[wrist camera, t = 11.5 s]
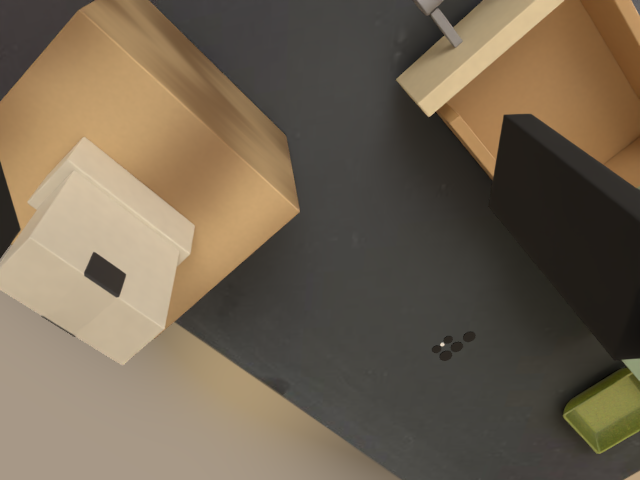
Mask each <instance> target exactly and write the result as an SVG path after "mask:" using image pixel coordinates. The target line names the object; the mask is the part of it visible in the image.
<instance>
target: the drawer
mask: <svg viewBox="0 0 640 480" xmlns="http://www.w3.org/2000/svg"><path fill="white" fill-rule="evenodd" d="M413 1H414V3H415V4H416V5H417V7H418V8H419V9H420V10H421V11H422V12H423V13H424V14H425V15H426V16H427V15H430V17H431V18H432V19H433V21H434V22H435V23H436V25H437V26H438V27H439V29H440V30H441V31H442V33H443V34H444V36H443V37H442V38H441V39H440V40H439V41H438V42H437V43H435V44H434V45H433V46H432V47H431V48H430V49H429V50H428V51H427V52H425V53H424V54H423V55H422V56H421V57H420V58H419V59H418V60H417V61H416V62H414V63H413V64H412V65H411V66H410V67H409V68H408V69H407V70H406V71H404V72H403V73H402V74H401V75H400V76H399V77H398V78H397V79H396V81H397V82H398V83H399V84H400V86H401V87H402V88H403V89H404V90H405V92H406V93H407V94H408V95H409V96H410V97H411V98H412V99H413V101H414V102H415V103H416V104H417V105H418V106H419V107H420V108H421V109H422V111H423V112H424V113H425V114H426V115H427V116H428V117H430V116H431V115H432V114H434V113H435V112H437V114H438V115H439V116H440V117H441V119H442V120H443V121H444V122H445V123H446V125H447V126H448V127H449V128H450V129H451V131H452V132H453V133H454V134H455V136H456V137H457V138H458V139H459V140H460V142H461V143H462V144H463V145H464V147H465V148H466V149H467V150H468V151H469V153H470V154H471V155H472V156H473V157H474V159H475V160H476V161H477V162H478V164H479V165H480V166H481V167H482V168H483V170H484V171H485V172H486V173H487V175H488V176H489V177H490V178H491V179H492V181H493V176H494V170H495V164H496V158H497V152H498V146H499V140H500V134H501V128H502V122H503V116H504V115H506V114H532V115H534V116H535V117H536V118H538V119H539V120H541V121H542V122H544V123H545V124H546V125H548V126H549V127H551V128H552V129H553V130H555V131H556V132H558V133H559V134H561V135H562V136H563V137H565V138H566V139H568V140H569V141H570V142H572V143H573V144H575V145H576V146H578V147H579V148H580V149H582V150H583V151H585V152H586V153H587V154H589V155H590V156H592V157H593V158H595V159H596V160H597V161H599V162H600V163H602V164H603V165H604V166H606V167H607V168H609V169H610V170H612V171H613V172H614V173H616V174H617V175H619V176H620V177H621V178H623V179H624V180H626V181H627V182H629V183H630V184H631V185H633V186H634V187H636V188H638V187H639V186H640V16H639V14H638V12H637V10H636V9H635V7H634V5H633V3H632V1H631V0H483V1H482V2H481V3H480V4H479V5H477V6H476V7H475V8H474V9H473V10H472V11H471V12H470V13H469V14H467V15H466V16H465V17H464V18H463V19H462V20H461V21H460V22H459V23H458V24H456V25H455V26H454V27H452V25H451V24H450V23H449V21H448V20H447V19H446V17H445V16H444V15H443V13H442V12H441V10H440V9H439V8H438V6H439V5H440V4H441V3H442V2H443V1H444V0H413Z"/></svg>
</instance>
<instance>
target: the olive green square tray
mask: <svg viewBox="0 0 640 480" xmlns="http://www.w3.org/2000/svg"><path fill="white" fill-rule="evenodd" d="M563 418H564V419H565V420H566V421H567V422H568V423H569V424H570V425H571V426H572V427H573V429H574V430H575V431H576V432H577V433H578V434H579V435H580V436H581V437H582V438H583V439H584V440H585V441H586V442H587V443H588V445H589V446H590V447H591V448H592V449H593V450H594V451H595V452H596V453H597V454H599V453H602V452H604V451H606V450H608V449H609V448H611V447H613V446H615V445H616V444H618V443H620V442H621V441H623V440H625V439H626V438H628V437H630V436H632V435H633V434H635V433H637V432H639V431H640V381H639V380H638V379H637V378H636V377H635V376H634V374H633V373H632V372H631V371H630V370H629V369H628V368H622V369H619V370H617V371H616V372H614V373H613V374H611V375H609V376H608V377H606V378H605V379H603V380H601V381H600V382H598V383H597V384H595V385H593V386H592V387H590V388H589V389H587V390H585V391H584V392H582V393H580V394H579V395H577V396H576V397H574V398H572V399H571V400H570V401H569V402H568V403H567V405H566V406H565V409H564V412H563Z"/></svg>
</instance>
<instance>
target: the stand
mask: <svg viewBox="0 0 640 480" xmlns="http://www.w3.org/2000/svg"><path fill="white" fill-rule="evenodd" d="M83 137H86V138H87V139H88V140H89V141H91V142H92V143H93V144H94V145H96V146H97V147H98V148H99V149H101V150H102V151H103V152H104V153H106V154H107V155H108V156H109V157H111V158H112V159H113V160H114V161H116V162H117V163H118V164H119V165H121V166H122V167H123V168H124V169H125V170H127V171H128V172H129V173H130V174H132V175H133V176H134V177H135V178H137V179H138V180H139V181H140V182H142V183H143V184H144V185H145V186H147V187H148V188H149V189H150V190H152V191H153V192H154V193H155V194H157V195H158V196H159V197H160V198H161V199H163V200H164V201H165V202H166V203H168V204H169V205H170V206H171V207H173V208H174V209H175V210H176V211H178V212H179V213H180V214H181V215H183V216H184V217H185V218H186V219H188V220H189V221H190V222H191V223H193V224H194V225H195V229H194V235H193V241H192V247H191V253H190V255H189V256H188V257H187V258H186V259H185V260H184V261H182V262H181V263H180V264H179V265H178V266H177V268H176V273H175V278H174V283H173V288H172V293H171V299H170V304H169V309H168V314H167V319H166V324H165V329H166V328H168V327H169V326H170V325H171V324H172V323H173V322H174V321H176V320H177V319H178V318H179V317H180V316H181V315H182V314H184V313H185V312H186V311H187V310H188V309H189V308H190V307H192V306H193V305H194V304H195V303H196V302H197V301H198V300H200V299H201V298H202V297H203V296H204V295H205V294H206V293H208V292H209V291H210V290H211V289H212V288H213V287H214V286H216V285H217V284H218V283H219V282H220V281H221V280H222V279H224V278H225V277H226V276H227V275H228V274H229V273H230V272H232V271H233V270H234V269H235V268H236V267H237V266H238V265H240V264H241V263H242V262H243V261H244V260H245V259H246V258H248V257H249V256H250V255H251V254H252V253H253V252H254V251H256V250H257V249H258V248H259V247H260V246H261V245H262V244H264V243H265V242H266V241H267V240H268V239H269V238H270V237H272V236H273V235H274V234H275V233H276V232H277V231H278V230H280V229H281V228H282V227H283V226H284V225H285V224H286V223H288V222H289V221H290V220H291V219H292V218H293V217H294V216H296V215H297V214H298V213H299V212H300V209H299V203H298V198H297V192H296V187H295V181H294V176H293V170H292V165H291V159H290V154H289V148H288V143H287V137H286V135H285V134H284V133H283V132H282V131H281V130H280V129H279V128H278V127H277V126H276V125H275V124H274V123H273V122H272V121H271V120H270V119H268V118H267V117H266V116H265V115H264V114H263V113H262V112H261V111H260V110H259V109H258V108H257V107H256V106H255V105H254V104H253V103H252V102H251V101H250V100H249V99H248V98H247V97H246V96H245V95H244V94H243V93H242V92H241V91H240V90H239V89H238V88H237V87H236V86H235V85H234V84H233V83H232V82H231V81H230V80H229V79H228V78H227V77H226V76H225V75H224V74H223V73H222V72H221V71H220V70H219V69H218V68H217V67H216V66H215V65H214V64H213V63H212V62H211V61H210V60H209V59H208V58H207V57H206V56H205V55H204V54H203V53H202V52H201V51H200V50H199V49H198V48H197V47H196V46H195V45H193V44H192V43H191V42H190V41H189V40H188V39H187V38H186V37H185V36H184V35H183V34H182V33H181V32H180V31H179V30H178V29H177V28H176V27H175V26H174V25H173V24H172V23H171V22H170V21H169V20H168V19H167V18H166V17H165V16H164V15H163V14H162V13H161V12H160V11H159V10H158V9H157V8H156V7H155V6H154V5H153V4H152V3H151V2H150V1H149V0H95V1H93V2H91V3H90V4H88V5H86V6H85V7H83V8H81V9H79V10H78V11H77V12H76V14H75V15H74V16H73V17H72V18H71V19H70V21H69V22H68V23H67V24H66V25H65V26H64V28H63V29H62V30H61V31H60V32H59V33H58V35H57V36H56V37H55V38H54V39H53V40H52V42H51V43H50V44H49V45H48V46H47V47H46V49H45V50H44V51H43V52H42V53H41V55H40V56H39V57H38V58H37V59H36V60H35V62H34V63H33V64H32V65H31V66H30V67H29V69H28V70H27V71H26V72H25V73H24V74H23V76H22V77H21V78H20V79H19V80H18V81H17V83H16V84H15V85H14V86H13V87H12V88H11V90H10V91H9V92H8V93H7V94H6V95H5V97H4V98H3V99H2V100H1V101H0V162H1V165H2V169H3V172H4V175H5V178H6V182H7V185H8V188H9V192H10V195H11V198H12V202H13V205H14V208H15V212H16V215H17V218H18V222H19V225H20V228H21V230H20V232H19V233H18V235H17V236H16V237H15V239H14V240H13V241H12V243H11V245H13V243H14V242H15V240H16V239H17V238H18V236H19V235H20V233H21V232H22V230H23V229H24V228H25V226H26V225H27V223H28V222H29V220H30V219H31V218H32V216H33V215H34V213H35V212H36V211H37V210H36V209H35V208H33V207H32V206H30V205H29V204H28V203H27V202H28V200H29V199H30V197H31V196H32V195H33V193H34V192H35V191H36V189H37V188H38V187H39V186H40V184H41V183H42V182H43V180H44V179H45V178H46V176H47V175H48V174H49V173H50V172H51V171H52V170H53V169H54V168H55V167H56V165H57V164H58V163H59V162H60V161H61V160H62V159H63V158H64V157H65V156H66V155H67V154H68V153H69V152H70V150H71V149H72V148H73V147H74V146H75V145H76V144H77V143H78V142H79V141H80V140H81V139H82V138H83ZM165 329H164V330H165ZM164 330H163V331H164ZM163 331H162V332H163ZM162 332H161V333H162ZM161 333H159V334H158V335H160V334H161ZM158 335H157V336H158ZM157 336H156V337H157ZM156 337H155V338H156ZM155 338H154V339H155Z"/></svg>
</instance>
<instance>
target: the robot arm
mask: <svg viewBox="0 0 640 480" xmlns="http://www.w3.org/2000/svg"><path fill="white" fill-rule="evenodd" d="M488 207H489V208H490V209H491V210H492V212H493V213H494V214H495V215H496V216H497V218H498V219H499V220H500V221H501V222H502V224H503V225H504V226H505V227H506V229H507V230H508V231H509V232H510V233H511V235H512V236H513V237H514V238H515V240H516V241H517V242H518V243H519V244H520V246H521V247H522V248H523V249H524V251H525V252H526V253H527V254H528V255H529V257H530V258H531V259H532V260H533V262H534V263H535V264H536V265H537V266H538V268H539V269H540V270H541V271H542V273H543V274H544V275H545V276H546V277H547V279H548V280H549V281H550V282H551V284H552V285H553V286H554V287H555V288H556V290H557V291H558V292H559V293H560V294H561V296H562V297H563V298H564V299H565V301H566V302H567V303H568V304H569V305H570V307H571V308H572V309H573V310H574V312H575V313H576V314H577V315H578V316H579V318H580V319H581V320H582V321H583V323H584V324H585V325H586V326H587V327H588V329H589V330H590V331H591V332H592V334H593V335H594V336H595V337H596V338H597V340H598V341H599V342H600V343H601V345H602V346H603V347H604V348H605V349H606V351H607V352H608V353H609V354H610V356H611V357H612V358H613V359H614V360H627V359H640V189H638V188H636V187H634V186H633V185H631V184H630V183H629V182H627V181H626V180H624V179H623V178H621V177H620V176H619V175H617V174H616V173H614V172H613V171H612V170H610V169H609V168H607V167H606V166H604V165H603V164H602V163H600V162H599V161H597V160H596V159H595V158H593V157H592V156H590V155H589V154H587V153H586V152H585V151H583V150H582V149H580V148H579V147H578V146H576V145H575V144H573V143H572V142H570V141H569V140H568V139H566V138H565V137H563V136H562V135H561V134H559V133H558V132H556V131H555V130H553V129H552V128H551V127H549V126H548V125H546V124H545V123H544V122H542V121H541V120H539V119H538V118H536V117H535V116H534V115H532V114H506V115H504V116H503V122H502V128H501V134H500V140H499V146H498V152H497V158H496V164H495V170H494V176H493V182H492V188H491V194H490V200H489V206H488ZM20 230H21V228H20V225H19V222H18V218H17V215H16V212H15V208H14V205H13V202H12V198H11V195H10V192H9V188H8V185H7V182H6V178H5V175H4V172H3V169H2V165H1V162H0V258H1V257H2V255H3V254H4V252H5V251H6V250H7V248H8V247H9V246H10V244H11V243H12V241H13V240H14V239H15V237H16V236H17V235H18V233H19V232H20Z"/></svg>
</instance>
